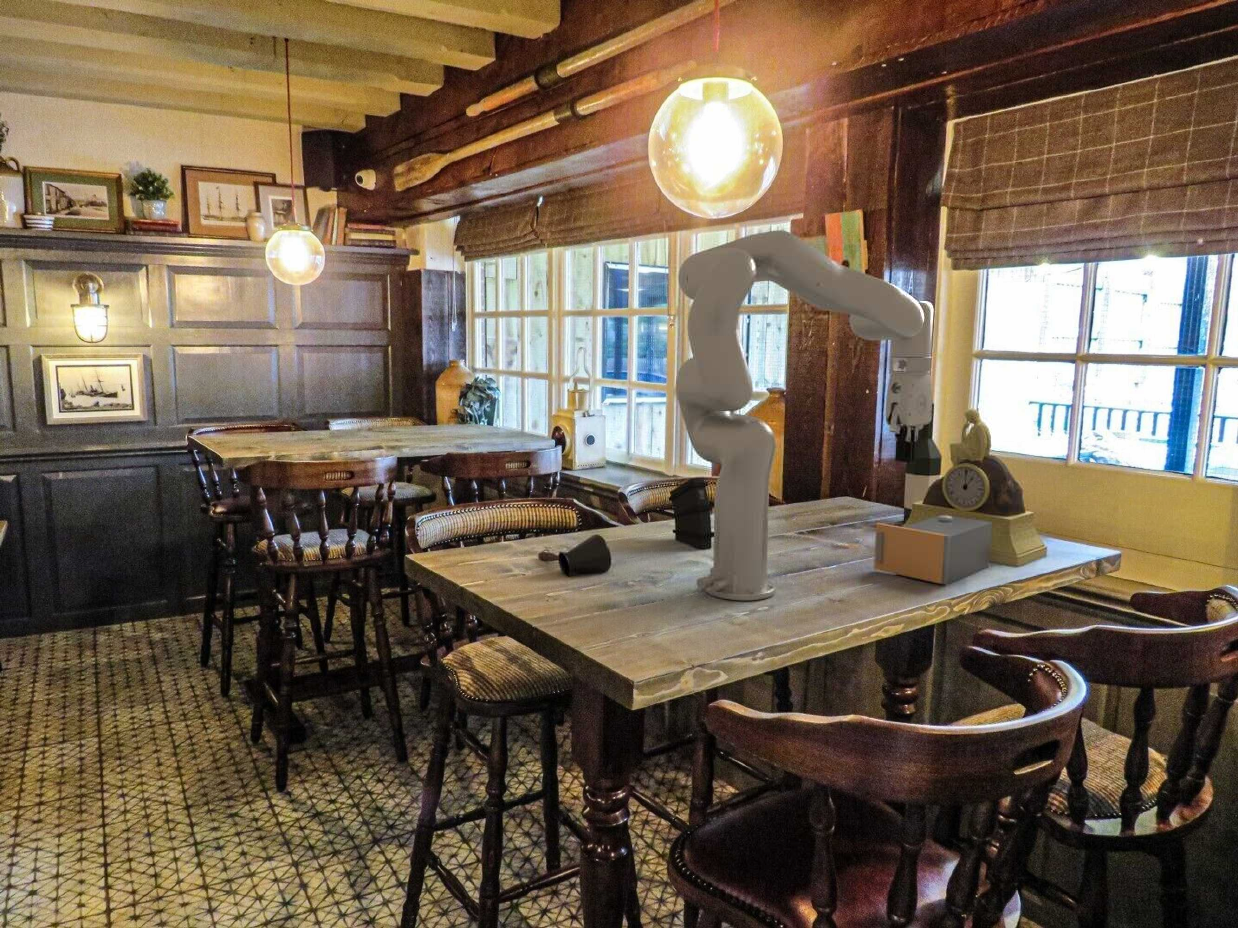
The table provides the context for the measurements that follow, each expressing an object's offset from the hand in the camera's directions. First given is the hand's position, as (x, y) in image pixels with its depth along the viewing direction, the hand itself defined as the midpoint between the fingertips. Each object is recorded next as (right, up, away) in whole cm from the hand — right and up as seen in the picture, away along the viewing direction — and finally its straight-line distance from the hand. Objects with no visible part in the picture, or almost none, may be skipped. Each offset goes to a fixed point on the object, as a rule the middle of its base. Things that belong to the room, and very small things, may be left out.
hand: (905, 460), depth 168 cm
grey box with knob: (+8, -21, +1) cm, 23 cm away
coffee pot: (-65, -21, +4) cm, 69 cm away
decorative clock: (+19, -19, +17) cm, 32 cm away
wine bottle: (+17, -15, +40) cm, 46 cm away
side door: (-1, -22, -6) cm, 23 cm away
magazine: (-40, -18, +22) cm, 49 cm away
